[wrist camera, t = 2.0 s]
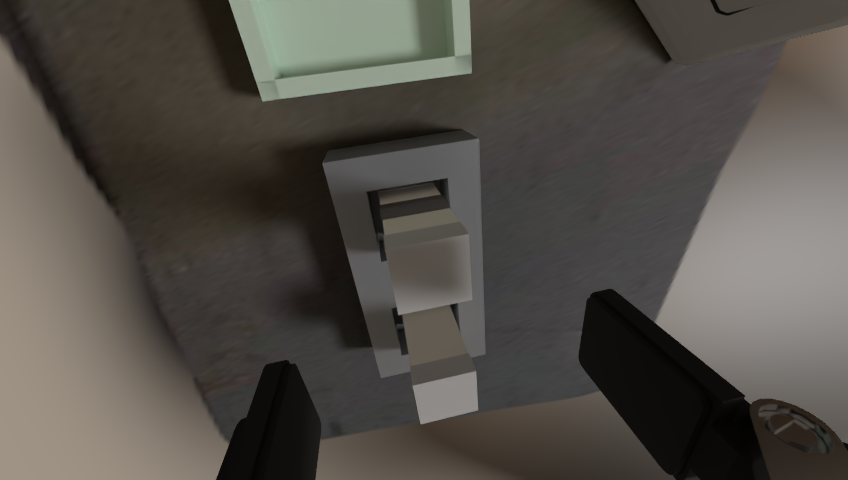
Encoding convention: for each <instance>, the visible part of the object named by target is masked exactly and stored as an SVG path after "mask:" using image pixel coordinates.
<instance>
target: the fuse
mask: <svg viewBox="0 0 848 480" xmlns="http://www.w3.org/2000/svg"><path fill="white" fill-rule="evenodd" d="M402 318H403V323H404V329H405V335H406V341H407V347H408V353H409V359H410V365H411V366H410V371H411V377H412V384H413V389H414V394H415V399H416V404H417V409H418V413H419V418H420V423H421V424H424V423H428V422H432V421H436V420H440V419H444V418H448V417H453V416H457V415H461V414H465V413H469V412H473V411H477V410H478V400H477V380H476V370H475V367H474V365H473V362H472V359H471V357H470V354H469V353H468V352H467V349H466V347H465V344H464V341H463V339H462V336H461V334H460V331H459V328H458V326H457V323H456V320H455V318H454V315H453V313H452V310H451V307H450V305H445V306H440V307H435V308H431V309H426V310H421V311H416V312H411V313H407V314H402Z"/></svg>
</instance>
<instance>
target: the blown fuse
mask: <svg viewBox="0 0 848 480" xmlns="http://www.w3.org/2000/svg"><path fill="white" fill-rule="evenodd" d="M377 191H378V197H379V202H380V205H379V207H380V214H381V221H382V226H383V231H384V236H383V237H384V245H385V252H386V257H387V261H388V266H389V271H390V276H391V281H392V286H393V291H394V296H395V301H396V306H397V311H398V315H402V314H407V313H411V312H416V311H421V310H426V309H431V308H435V307H440V306H445V305H450V304H455V303H459V302H464V301H469V300H472V285H471V266H470V246H469V233H468V232H467V230H466V229H465V228H464V226H463V225H462V223H461V222H459V221H458V220H457V218H456V217H455V215H454V214H453V212H452V211H451V207H450V205H449V204H448V202H447V201H446V199H445V198H444V196H443V195H442V194H440V193H439V191H438V190H437V188H436V187H435V185H434V181H427V182H421V183H415V184H409V185H403V186H397V187H391V188H385V189H379V190H377Z"/></svg>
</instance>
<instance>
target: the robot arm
mask: <svg viewBox="0 0 848 480" xmlns="http://www.w3.org/2000/svg"><path fill="white" fill-rule="evenodd" d="M579 361H580V364H581V366H582V367H583V369H584V370H585V371H586V373H587V374H588V375H589V376H590V378H591V379H592V380H593V382H594V383H595V384H596V385H597V387H598V388H599V389H600V390H601V392H602V393H603V394H604V396H605V397H606V398H607V399H608V401H609V402H610V403H611V404H612V406H613V407H614V408H615V409H616V411H617V412H618V413H619V415H620V416H621V417H622V418H623V420H624V421H625V422H626V424H627V425H628V426H629V427H630V428H631V430H632V431H633V432H634V434H635V435H636V436H637V438H638V439H639V440H640V441H641V443H642V444H643V445H644V446H645V448H646V449H647V450H648V452H649V453H650V454H651V455H652V457H653V458H654V459H655V460H656V462H657V463H658V464H659V466H660V467H661V468H662V469H663V470H664V471H665V472H666V473H667V474H669V475H673V476H674V477H675V479H676V480H848V444H847V443H844V442H842V441H841V439H840V438H839V437H838V435H837V434H836V433H835V431H833V430H832V429H831V428H830V427H829V426H828V425H827V424H826V423H825V422H823V421H822V420H820V419H819V418H817V417H816V416H814V415H813V414H811V413H810V412H808V411H806V410H804V409H802V408H800V407H798V406H796V405H793V404H790V403H787V402H784V401H780V400H775V399H758V400H756V401H753V402H752V404H749V403H748V402H747V401H746V400H745V399H744V397H745V395H743V394H742V393H741V392H740V391H738V390H737V389H736V388H735V387H733V386H732V385H731V384H730V383H729V382H727V381H726V380H725V379H723V378H722V377H721V376H720V375H719V374H717V373H716V372H715V371H714V370H712V369H711V368H710V367H709V366H707V365H706V364H705V363H704V362H703V361H701V360H700V359H699V358H698V357H696V356H695V355H694V354H693V353H691V352H690V351H689V350H688V349H686V348H685V347H684V346H682V345H681V344H680V343H679V342H678V341H677V340H675V339H674V338H673V337H671V336H670V335H669V334H668V333H667V332H665V331H664V330H663V329H662V328H660V327H659V326H658V325H657V324H655V323H654V322H653V321H652V320H650V319H649V318H648V317H647V316H646V315H644V314H643V313H642V312H641V311H639V310H638V309H637V308H636V307H634V306H633V305H632V304H631V303H629V302H628V301H627V300H626V299H624V298H623V297H622V296H621V295H620V294H618V293H617V292H616V291H614V290H613V289H607V290H602V291H598V292H594V293H592V294H591V296H590V298H588V299H587V302H586V309H585V316H584V322H583V329H582V336H581V343H580V349H579ZM320 436H321V422H320V418H319V416H318V413H317V411H316V409H315V407H314V404H313V402H312V400H311V397H310V395H309V393H308V391H307V388H306V386H305V384H304V381H303V379H302V377H301V375H300V372H299V370H298V368H297V366H296V364H295V363H294V364H290V363H289V361H288V360H284V361H280V362H275V363H271V364H267V365H266V366H265V367H264V369H263V372H262V375H261V378H260V380H259V383H258V386H257V389H256V392H255V395H254V398H253V400H252V403H251V406H250V409H249V412H248V415H247V418H244V419H242V420H240V422H239V423H238V424H237V426H236V428H235V430H234V433H233V436H232V438H231V441H230V444H229V447H228V449H227V452H226V455H225V457H224V460H223V463H222V465H221V468H220V471H219V473H218V476H217V479H216V480H315V477H316V469H317V461H318V452H319V444H320Z"/></svg>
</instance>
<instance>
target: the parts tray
mask: <svg viewBox="0 0 848 480" xmlns="http://www.w3.org/2000/svg"><path fill="white" fill-rule="evenodd" d="M229 3H230V6H231V9H232V12H233V15H234V18H235V21H236V24H237V27H238V30H239V32H240V35H241V38H242V41H243V44H244V47H245V50H246V53H247V56H248V59H249V62H250V65H251V68H252V71H253V74H254V77H255V80H256V83H257V86H258V89H259V92H260V95H261V98H262V101H269V100H277V99H284V98H291V97H299V96H306V95H314V94H321V93H328V92H336V91H343V90H350V89H358V88H365V87H373V86H380V85H387V84H395V83H402V82H409V81H417V80H424V79H432V78H439V77H446V76H454V75H461V74H468V73H472V62H471V34H470V7H469V0H229Z"/></svg>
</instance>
